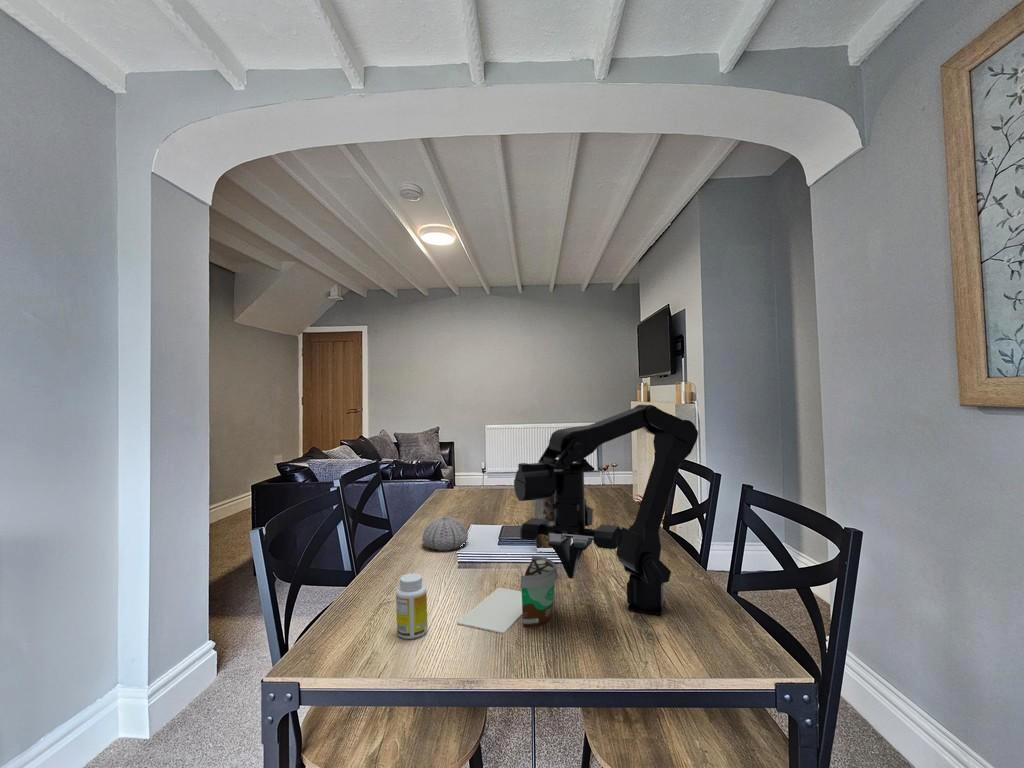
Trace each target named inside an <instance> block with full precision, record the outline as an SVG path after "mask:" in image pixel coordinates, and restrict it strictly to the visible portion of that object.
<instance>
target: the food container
mask: <svg viewBox="0 0 1024 768" xmlns="http://www.w3.org/2000/svg"><path fill="white" fill-rule="evenodd" d="M558 578H559V572H558V569H557V566H556V565H555V562H554V561H553V560H551V559H550V558H548V557H544V556H539V555H531V562H530V564H529V565H528V566H527V568H526V571H525V573H524V575H521V576H520V589H521V590H520V591H522V614H523V615H522V628H527V627H528V628H529V629H530V628H539V627H542V626H546V625H547V624H548V623H549V624H550V623H551V622H552V620H553V618H554V601H555V600H554V598H555V582H556V581H557V580H558Z"/></svg>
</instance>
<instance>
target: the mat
mask: <svg viewBox="0 0 1024 768" xmlns="http://www.w3.org/2000/svg"><path fill="white" fill-rule="evenodd" d="M521 617H523V614H522V590H517V589H511V588H510V589H509V588H505V587H504V588H503V587H497V588H496V589H495V590H494V591H493V592H492V593H490V594H489V595H488V596H487V597H485V598H484V599H483V600H481V602H480V603H478V604H477V605H476V606H474V608H473V609H471V610H470V611H469V612H468V613H466V614H465V615H464V616H463V617H462V618H461V619H460V620H458V621H456V625H460V626H464V627H468V628H473V627H474V628H473V629H477V628H480V629H479V630H482V629H484V630H483V631H487V630H490V631H489V632H492V631H493V632H492V633H496V632H497V633H496V634H502V635H505V634H506V633H507V632H508V631H509V630H508V629H510V628H512V626H514V624H515V623H516V622H517V621H518V620H519V619H520V618H521Z"/></svg>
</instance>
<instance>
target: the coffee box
mask: <svg viewBox="0 0 1024 768" xmlns="http://www.w3.org/2000/svg"><path fill="white" fill-rule="evenodd" d="M554 502H555V500H554V494H553V495H552V496H551V497H550V498H546V499H537V500H534V507H535V509H534V511H535V513H534V514H535V517H534V518H538V519H547V520H548V522H549V525H554V524H555V509H553V503H554ZM561 532H562V531H561ZM549 542H550V535H543V534H539V536H538V537H537V538H536V539H535V547H537V548H553V547H551V546H548V543H549Z"/></svg>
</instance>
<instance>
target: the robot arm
mask: <svg viewBox="0 0 1024 768" xmlns="http://www.w3.org/2000/svg"><path fill="white" fill-rule="evenodd" d="M643 428H644V429H645V430H646V431H647V432H649V433H650V434H652V435H654V437H653V443H652V444H653V448H654V454H655V458H654V460H653V461H654V462H653V464H652V468H651V471H650V473H649V476H648V481H647V483H646V487H645V489H644V491H643V496H642V498H641V499H642V500H641V502H640V505H639V508H638V511H637V513H636V514H637V515H636V518H635V521H634V522H633V523H632V524H631V525H630V527H629V528H626V527H621V528H620V526H619V525H611V524H601V523H600V525H599V526H598V527H596V529H593V528H586V527H589V526H591V525H593V514H594V513H593V512H594V509H593V508H592V507H589V506H587V499H586V498H585V476H584V475H585V474H584V473H585V472H587V473H588V472H594V470H595V467H594V466H593V465H591V464H590V463H589V461H588V460H587V457H588V456H590V455H592V454H593V453H594V452H595V451H596V450H597V449H598V448H599V447H600V446H602V445H603V444H605V443H608V442H611V441H612V440H615V439H618V438H620V437H622V436H624V435H628V434H630V433H632V432H635V431H638V430H640V429H643ZM698 437H699V430H698V429H697V427H696V425H695V423H694V422H693V421H691V420H688V419H682V418H680V417H677V416H676V415H672V414H671V413H668V412H665V411H663V410H662V409H660V408H658V407H656V406H655V405H652V404H637V405H636V406H634V407H632V408H630V409H628V410H626V411H623V412H620V413H617V414H615V415H612V416H610V417H606V418H605V419H602V420H599V421H596V422H594V423H591V424H587V425H581V426H580V425H579V426H572V427H567V428H566V427H565V428H560V429H559V428H558V429H556V430H555V431H554V432H552V434H551V435H550V437H549V440H548V446H547V447H546V448H545V450H544V452H543V453H542V455H541V456H540V459H538V462H537V463H536V462H534V463H526V462H521V463H518V465H517V467H518V468H517V471H516V473H515V478H514V479H513V484H514V485H513V486H514V494H515V495H516V499H517V500H518V501H519V502H526V501H535V500H537V499H546V498H550V497H551V496H552V495H553V494H554V500H555V502H554V503H553V509H555V524H554V525H549V522H548V520H547V519H538V518H535V517H531V518H529V519H528V520H526V521H525V522H523V524H521V526H520V530H519V531H520V533H519V535H520V539H522V540H528V541H530V540H531V541H536V538H537V537H538V536H539V534H543V535H550V542H549V543H548V546H551V547H553V549H554V550H555V552H556V553H555V554H556V555H557V557H558V558H559V561H560V563H561V564H562V567H563V569H564V571H565V573H566V575H567V577H568V579H571V580H573V579H574V578H575V575H576V572H577V570H578V565H579V562H580V559H581V557H582V554H583V551H585V550H587V548H589V546H591V544H592V543H593V544H594V545H595V546H596V547H597V548H598V549H607V550H616V553H615V554H616V556H617V558H618V562H620V563H621V565H622V566H623V569H624V571H625V572H626V573H628V574H630V575H629V576H628V577H629V578H628V580H627V582H626V602H627V603H626V604H628V606H627V610H628V611H630V612H635V613H643V614H649V615H653V616H661V615H662V614H663V611H664V608H665V605H666V600H665V599H664V598H665V597H664V596H665V595H664V591H665V590H664V584H665V583H669V581H670V578H671V574H672V571H671V569H669V568H668V566H666V565H665V564H664V563H663V562H662V561H661V560H660V559H661V552H662V544H661V538H660V528H661V526H662V523H663V519H664V517H665V512H666V509H667V506H668V502H669V499H670V495H671V493H672V490H673V486H674V483H675V480H676V477H677V475H678V470H679V467H680V465H681V463H683V461H685V460H686V459H687V458H688V456H689V455H690V454H691V453H692V451H693V449H694V447H695V445H696V443H697V441H698ZM561 531H562V532H561ZM572 540H573V542H572Z"/></svg>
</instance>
